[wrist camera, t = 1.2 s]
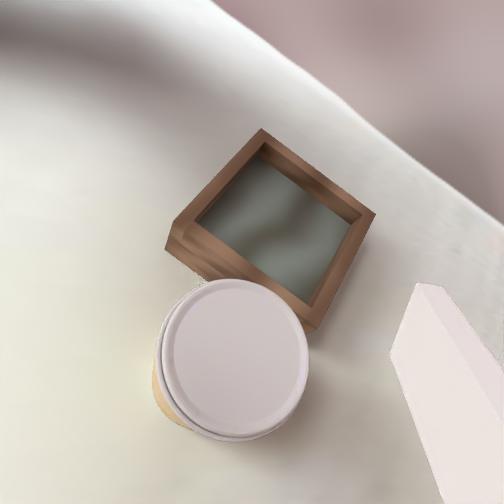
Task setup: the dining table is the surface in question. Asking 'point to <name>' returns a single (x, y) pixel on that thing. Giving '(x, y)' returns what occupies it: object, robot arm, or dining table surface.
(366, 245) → the dining table surface
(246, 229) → the wooden tray
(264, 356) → the coffee cup
